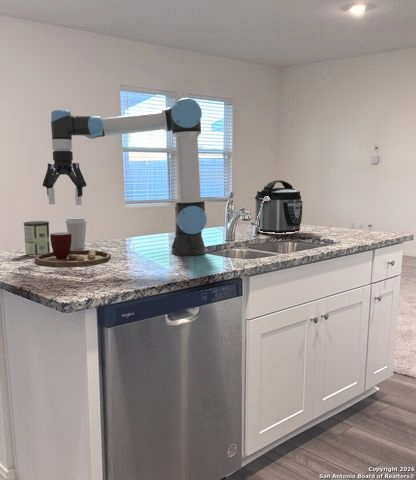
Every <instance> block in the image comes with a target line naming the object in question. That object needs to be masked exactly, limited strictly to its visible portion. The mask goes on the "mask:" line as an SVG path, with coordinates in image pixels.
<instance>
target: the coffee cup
mask: <svg viewBox="0 0 416 480" xmlns="http://www.w3.org/2000/svg"><path fill="white" fill-rule="evenodd" d="M87 223H88V221H87V219H86V218H85V217H83V216H80V217H79V216H78V217H77V216H71V217H67V218H66V220H65V225H66V230H67V232H66V233H71V236H72V241H71V248H70V250H85V249H86V248H85V247H86V244H85V243H86V229H87Z"/></svg>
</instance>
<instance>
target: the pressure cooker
mask: <svg viewBox="0 0 416 480" xmlns="http://www.w3.org/2000/svg"><path fill="white" fill-rule="evenodd" d="M277 183H280V184H281V185H282V186H283V187H275V185H276V184H277ZM293 187H294V186H293V185H292V184H290V183H289V182H287V181H285V180H281V179H279V180H273V181H270V182H269V183H267V184H266V185H264V187H263V189H260V190H257V191H256V195H255V196H254V200H255V216H254V217H255V218H254V219H255V223H256V220H257V216H258V214H259V211H260V208H261V204H263V206H262V210H261V214H260V219H259V227H260V231H263V232H275V233H283V232H284V233H286V232H295V231H299V232H300V230H301V224H302V219H303V218H302V217H303V201H302V195H301V191H299V190H296V189H295V188H293ZM265 196H269V197H270V199H271V202H268V201H264V203H262V201H263V199H264V197H265Z"/></svg>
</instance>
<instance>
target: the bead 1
mask: <svg viewBox="0 0 416 480" xmlns="http://www.w3.org/2000/svg"><path fill="white" fill-rule="evenodd" d="M76 260H77V262H78V261H84V256H83V255H78V256H77V257H76Z"/></svg>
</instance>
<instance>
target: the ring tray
mask: <svg viewBox="0 0 416 480" xmlns="http://www.w3.org/2000/svg"><path fill="white" fill-rule="evenodd" d="M89 251H95V253H96V256H95V259H94V260H89V259H88V253H89ZM78 255H83V256H84V261H78V262H77V260H76V257H77V256H78ZM111 258H112V254H111V253H109V252H106V251H103V250H94V249H93V250H92V249H77V250H70V253H69V255H68V257H67V258H66V259H57V258H56V257H55V255H54V253H53V251H50V252H49V253H44V254H40V255H38V256H34V263H36V264H38V265H40V266H45V267H58V268H59V267H62V268H63V267H64V268H65V267H84V266H92V265H93V266H94V265H99V264H100V265H101V264H103V263H107V262H109V261H110V260H111Z"/></svg>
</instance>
